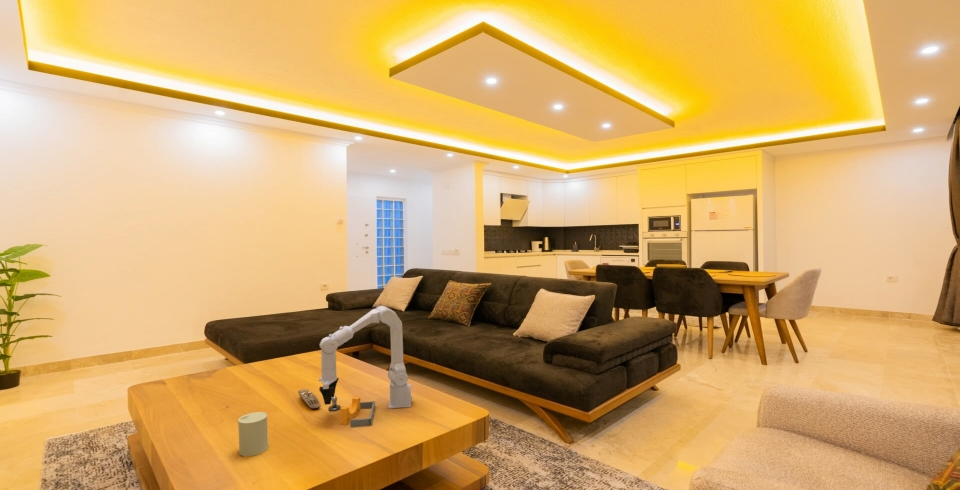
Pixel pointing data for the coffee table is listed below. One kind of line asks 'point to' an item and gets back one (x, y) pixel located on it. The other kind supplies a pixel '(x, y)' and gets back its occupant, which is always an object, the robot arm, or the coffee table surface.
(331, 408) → the ball stud
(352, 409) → the pipe clamp
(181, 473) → the coffee table surface
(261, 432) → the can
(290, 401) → the coffee table surface
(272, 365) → the coffee table surface
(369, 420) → the u-shaped bracket
